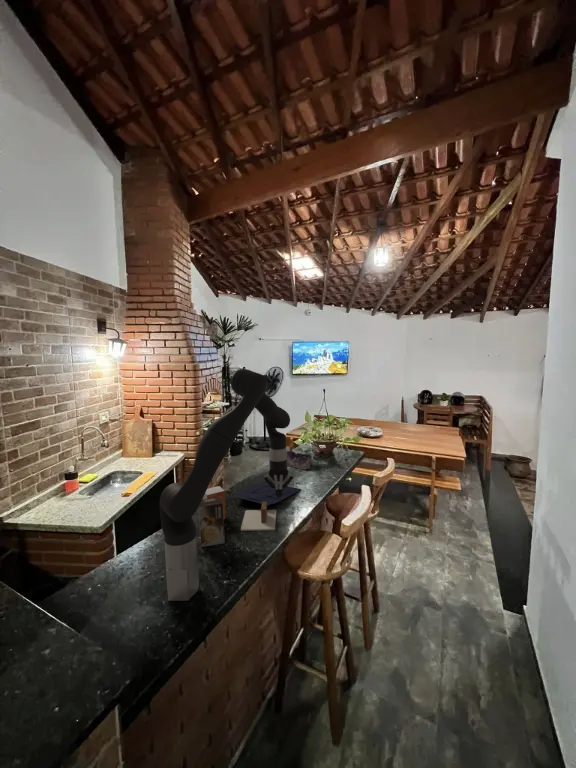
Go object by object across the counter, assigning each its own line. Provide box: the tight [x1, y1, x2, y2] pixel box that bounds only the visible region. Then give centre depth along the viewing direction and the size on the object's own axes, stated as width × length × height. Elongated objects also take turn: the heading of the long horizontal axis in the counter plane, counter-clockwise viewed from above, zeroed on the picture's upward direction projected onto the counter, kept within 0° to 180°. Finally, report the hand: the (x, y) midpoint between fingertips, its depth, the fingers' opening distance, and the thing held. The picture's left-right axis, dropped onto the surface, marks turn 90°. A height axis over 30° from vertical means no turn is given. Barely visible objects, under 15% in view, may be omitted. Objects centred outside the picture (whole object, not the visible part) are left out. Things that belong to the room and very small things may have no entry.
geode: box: [287, 449, 313, 471], centre depth 207 cm, size 20×12×10 cm, turn 59°
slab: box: [260, 502, 268, 523], centre depth 142 cm, size 2×6×7 cm
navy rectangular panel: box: [232, 480, 302, 506], centre depth 166 cm, size 24×30×4 cm
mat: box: [240, 509, 277, 532], centre depth 142 cm, size 16×14×1 cm
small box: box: [203, 485, 226, 520], centre depth 144 cm, size 8×6×13 cm
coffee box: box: [198, 497, 226, 548], centre depth 126 cm, size 9×6×16 cm
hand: (279, 496), depth 141 cm, fingers closed
